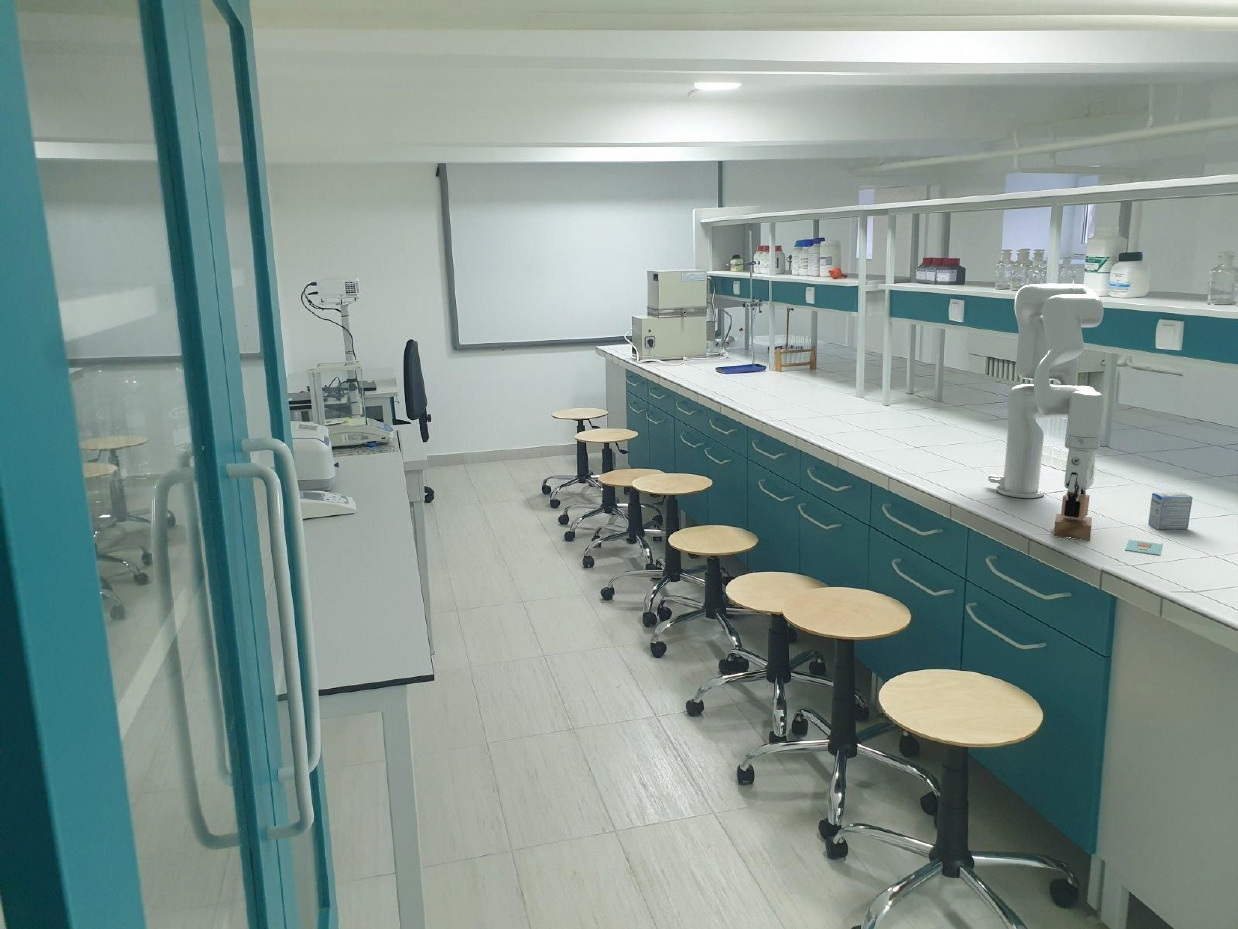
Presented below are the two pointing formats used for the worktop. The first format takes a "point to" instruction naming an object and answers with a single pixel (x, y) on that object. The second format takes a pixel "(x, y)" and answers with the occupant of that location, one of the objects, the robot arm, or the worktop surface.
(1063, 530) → the walnut block
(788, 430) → the worktop surface
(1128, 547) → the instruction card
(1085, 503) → the painted brick
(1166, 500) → the medicine box
